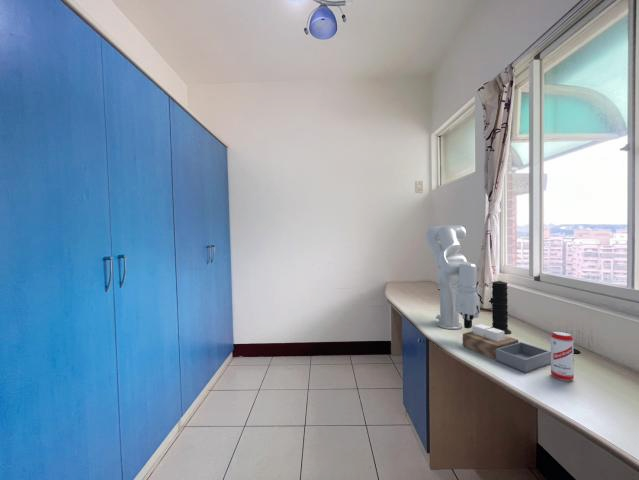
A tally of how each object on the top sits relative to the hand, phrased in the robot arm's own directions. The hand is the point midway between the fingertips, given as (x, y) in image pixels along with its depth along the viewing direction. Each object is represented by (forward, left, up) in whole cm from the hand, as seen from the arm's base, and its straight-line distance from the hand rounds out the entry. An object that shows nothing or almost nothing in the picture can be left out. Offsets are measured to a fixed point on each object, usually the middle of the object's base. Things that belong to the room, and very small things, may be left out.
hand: (467, 327), depth 136 cm
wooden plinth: (+11, 0, -7) cm, 13 cm away
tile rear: (+7, 0, -1) cm, 7 cm away
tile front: (+13, 0, -1) cm, 13 cm away
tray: (+25, 0, -7) cm, 26 cm away
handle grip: (-2, +27, -7) cm, 28 cm away
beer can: (+38, 0, -7) cm, 38 cm away
